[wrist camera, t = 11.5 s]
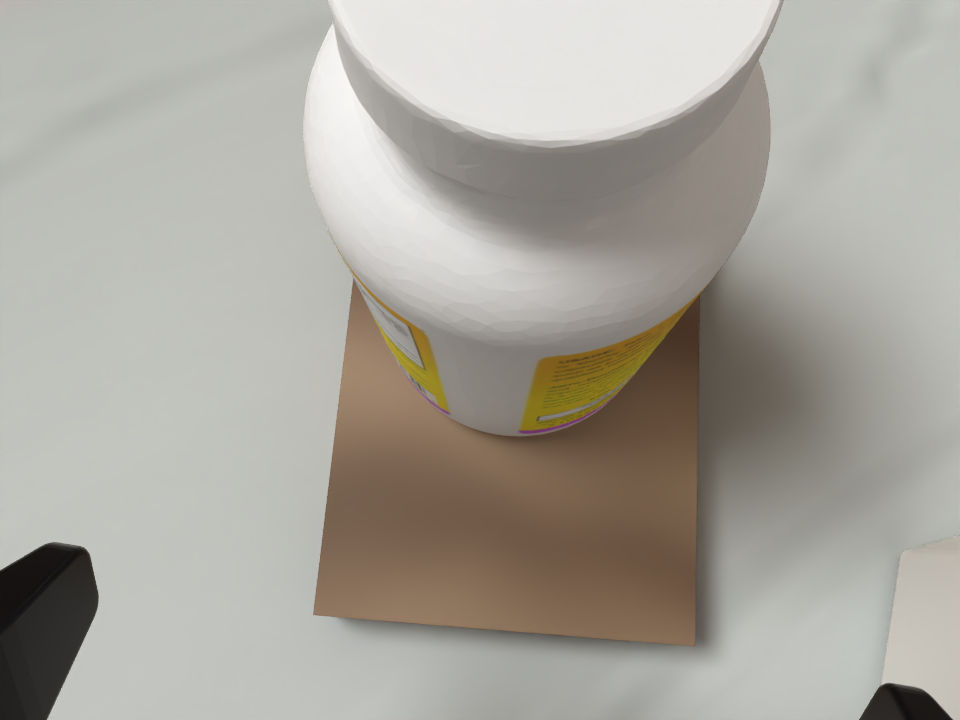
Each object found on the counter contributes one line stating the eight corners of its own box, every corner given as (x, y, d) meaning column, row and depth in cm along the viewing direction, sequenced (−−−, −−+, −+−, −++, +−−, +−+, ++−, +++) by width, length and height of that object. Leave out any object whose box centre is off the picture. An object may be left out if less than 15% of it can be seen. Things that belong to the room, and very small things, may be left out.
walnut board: (679, 638, 20) (695, 646, 18) (326, 609, 20) (313, 615, 18) (689, 75, 23) (703, 43, 22) (390, 56, 24) (383, 24, 22)
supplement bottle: (674, 235, 21) (965, -244, 8) (603, 475, 19) (822, 349, 7) (434, 163, 21) (359, -391, 9) (348, 391, 20) (105, 126, 7)
